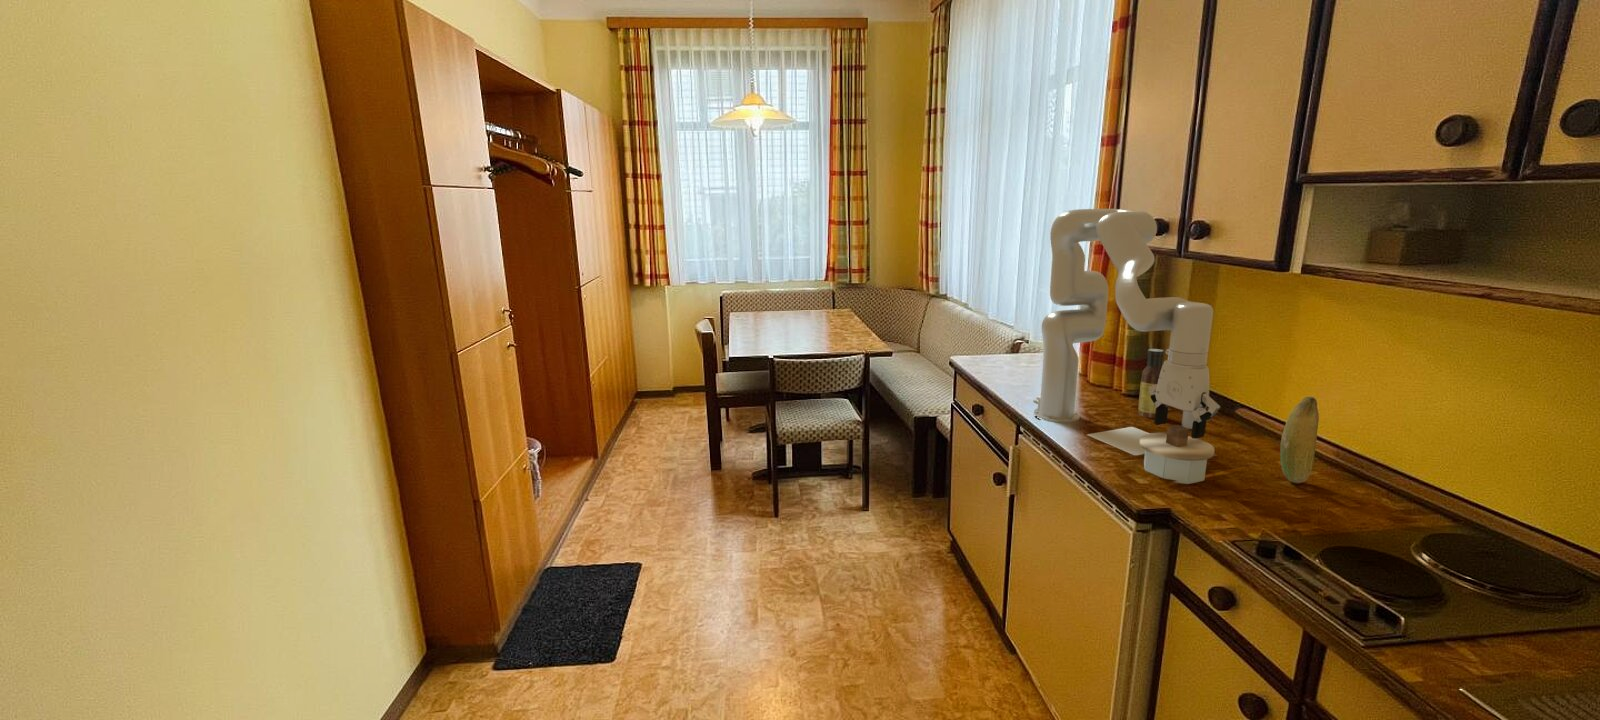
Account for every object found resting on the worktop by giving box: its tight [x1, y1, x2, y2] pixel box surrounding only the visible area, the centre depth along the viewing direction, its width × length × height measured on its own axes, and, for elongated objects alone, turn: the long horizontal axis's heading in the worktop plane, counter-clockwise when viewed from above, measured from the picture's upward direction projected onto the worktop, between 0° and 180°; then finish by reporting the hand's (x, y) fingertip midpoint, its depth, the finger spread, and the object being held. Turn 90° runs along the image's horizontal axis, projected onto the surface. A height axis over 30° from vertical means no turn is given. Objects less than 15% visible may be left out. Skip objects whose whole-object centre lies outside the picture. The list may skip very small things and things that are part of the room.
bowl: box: [1143, 450, 1208, 485], centre depth 150 cm, size 12×12×6 cm
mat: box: [1086, 426, 1150, 456], centre depth 169 cm, size 16×16×1 cm
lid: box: [1139, 424, 1216, 461], centre depth 149 cm, size 15×15×5 cm
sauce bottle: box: [1137, 348, 1165, 419], centre depth 187 cm, size 7×6×20 cm
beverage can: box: [1181, 410, 1201, 430], centre depth 177 cm, size 5×5×12 cm
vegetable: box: [1279, 396, 1320, 484], centre depth 142 cm, size 6×6×20 cm
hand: (1178, 430), depth 148 cm, fingers open, 9 cm apart
